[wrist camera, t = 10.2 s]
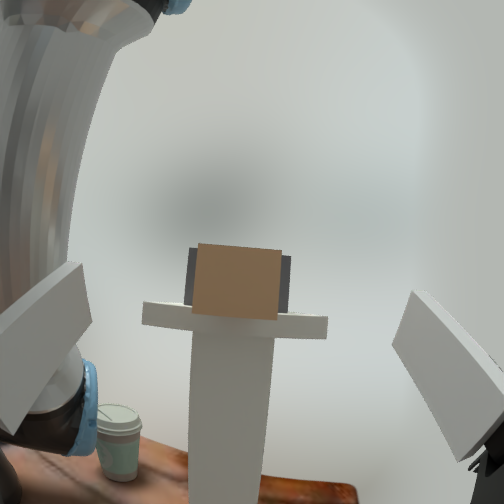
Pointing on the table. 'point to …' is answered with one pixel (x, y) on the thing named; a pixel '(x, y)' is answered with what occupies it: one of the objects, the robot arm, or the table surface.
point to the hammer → (237, 281)
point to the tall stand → (229, 395)
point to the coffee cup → (118, 441)
